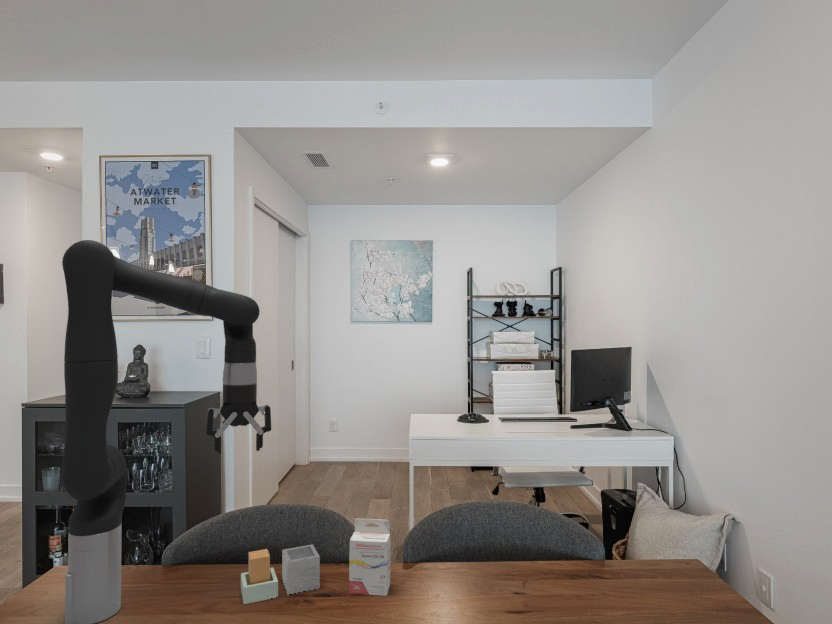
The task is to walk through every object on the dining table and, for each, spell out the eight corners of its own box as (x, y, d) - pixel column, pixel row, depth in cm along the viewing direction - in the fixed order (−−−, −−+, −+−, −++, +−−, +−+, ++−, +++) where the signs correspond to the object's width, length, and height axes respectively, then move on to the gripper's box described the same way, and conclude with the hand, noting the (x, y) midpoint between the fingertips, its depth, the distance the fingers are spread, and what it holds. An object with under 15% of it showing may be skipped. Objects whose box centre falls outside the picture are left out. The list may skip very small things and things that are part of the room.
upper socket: (287, 595, 112) (287, 562, 112) (282, 580, 118) (282, 549, 118) (319, 588, 115) (319, 556, 115) (312, 574, 121) (312, 544, 121)
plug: (250, 597, 110) (250, 559, 110) (248, 589, 114) (248, 552, 114) (269, 593, 112) (269, 556, 112) (267, 585, 115) (267, 548, 116)
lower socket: (243, 604, 108) (243, 588, 108) (240, 589, 115) (240, 573, 115) (278, 597, 111) (278, 581, 111) (273, 582, 117) (273, 567, 117)
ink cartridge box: (348, 594, 112) (348, 525, 112) (353, 583, 117) (353, 517, 117) (387, 596, 111) (387, 527, 111) (391, 585, 116) (390, 518, 116)
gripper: (207, 384, 115) (206, 458, 114) (273, 382, 120) (272, 452, 120) (206, 381, 122) (205, 450, 121) (269, 379, 127) (268, 445, 127)
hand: (238, 451), depth 121 cm, fingers open, 8 cm apart
